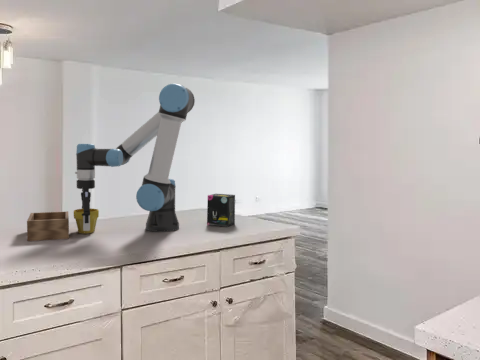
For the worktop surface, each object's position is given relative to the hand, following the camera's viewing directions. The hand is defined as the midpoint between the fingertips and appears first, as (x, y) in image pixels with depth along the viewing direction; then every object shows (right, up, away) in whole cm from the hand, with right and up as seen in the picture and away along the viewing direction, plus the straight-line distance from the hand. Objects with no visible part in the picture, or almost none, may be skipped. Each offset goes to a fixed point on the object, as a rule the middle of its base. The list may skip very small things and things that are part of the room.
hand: (85, 227), depth 201 cm
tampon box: (+58, -1, +22) cm, 62 cm away
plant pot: (0, -2, 0) cm, 2 cm away
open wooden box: (-13, -2, -6) cm, 15 cm away
